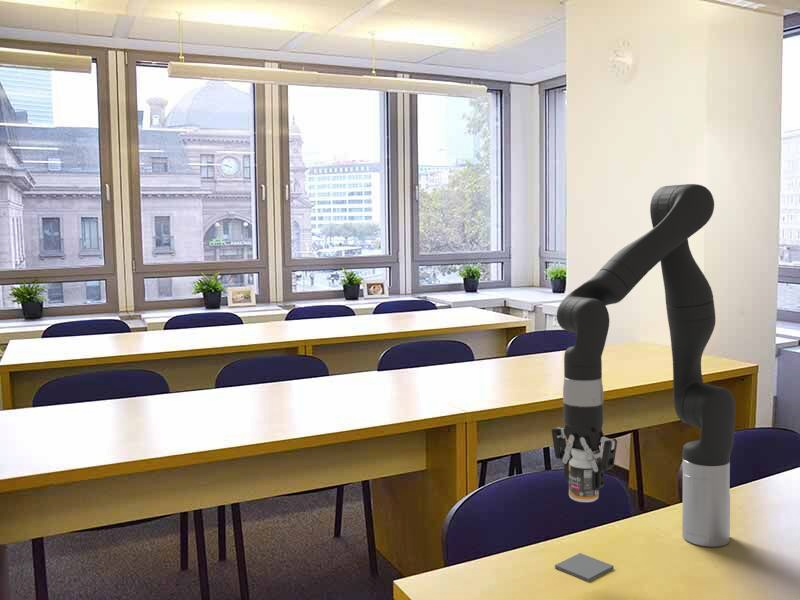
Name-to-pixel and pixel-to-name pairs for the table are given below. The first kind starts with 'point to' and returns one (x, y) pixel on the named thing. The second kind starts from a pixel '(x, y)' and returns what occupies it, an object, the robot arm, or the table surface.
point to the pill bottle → (581, 477)
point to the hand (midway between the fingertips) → (583, 485)
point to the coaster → (584, 567)
